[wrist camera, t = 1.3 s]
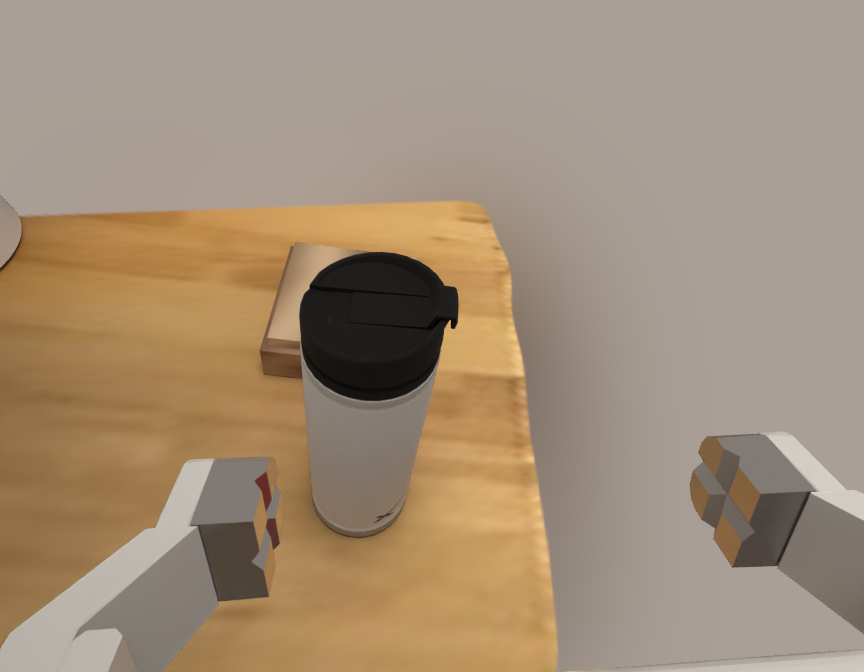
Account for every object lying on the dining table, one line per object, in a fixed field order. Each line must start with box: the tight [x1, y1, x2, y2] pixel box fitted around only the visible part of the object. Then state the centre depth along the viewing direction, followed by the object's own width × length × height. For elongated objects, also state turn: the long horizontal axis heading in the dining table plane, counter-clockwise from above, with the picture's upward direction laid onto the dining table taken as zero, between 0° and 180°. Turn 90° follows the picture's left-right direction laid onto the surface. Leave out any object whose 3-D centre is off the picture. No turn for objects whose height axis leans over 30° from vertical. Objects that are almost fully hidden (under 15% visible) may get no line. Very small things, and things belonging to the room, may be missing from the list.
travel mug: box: [299, 252, 459, 537], centre depth 31 cm, size 6×7×20 cm
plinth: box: [260, 242, 416, 379], centre depth 45 cm, size 11×11×4 cm
